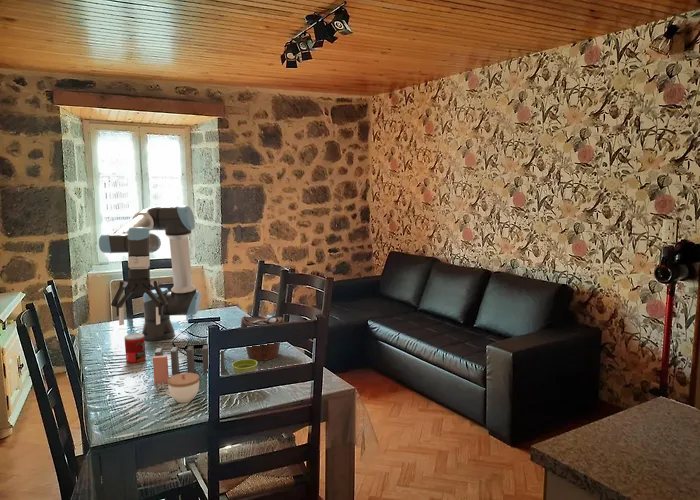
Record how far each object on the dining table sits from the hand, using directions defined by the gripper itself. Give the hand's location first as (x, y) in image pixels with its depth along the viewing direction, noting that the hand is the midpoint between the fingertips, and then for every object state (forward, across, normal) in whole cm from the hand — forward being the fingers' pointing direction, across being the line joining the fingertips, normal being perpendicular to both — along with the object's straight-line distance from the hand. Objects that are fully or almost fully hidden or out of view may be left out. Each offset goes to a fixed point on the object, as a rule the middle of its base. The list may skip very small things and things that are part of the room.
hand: (139, 324), depth 200 cm
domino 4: (+21, +16, +12) cm, 29 cm away
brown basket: (+19, +43, +29) cm, 55 cm away
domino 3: (+21, +10, +11) cm, 26 cm away
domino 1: (+21, +4, +11) cm, 24 cm away
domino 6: (+21, +28, +14) cm, 37 cm away
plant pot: (+24, +40, -3) cm, 46 cm away
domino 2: (+22, +7, +3) cm, 24 cm away
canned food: (+19, -11, +27) cm, 35 cm away
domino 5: (+21, +22, +13) cm, 33 cm away
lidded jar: (+25, +20, -13) cm, 35 cm away
